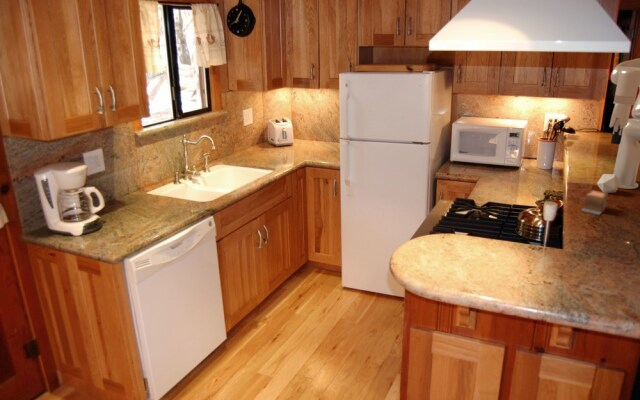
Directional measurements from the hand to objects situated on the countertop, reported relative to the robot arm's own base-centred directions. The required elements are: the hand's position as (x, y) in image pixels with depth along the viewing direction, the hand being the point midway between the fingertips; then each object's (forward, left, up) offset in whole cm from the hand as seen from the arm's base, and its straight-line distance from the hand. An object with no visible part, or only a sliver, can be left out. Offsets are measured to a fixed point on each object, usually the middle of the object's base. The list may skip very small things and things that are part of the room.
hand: (615, 143), depth 215 cm
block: (+11, 0, -22) cm, 24 cm away
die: (-12, -1, -25) cm, 28 cm away
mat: (+17, 0, -25) cm, 30 cm away
